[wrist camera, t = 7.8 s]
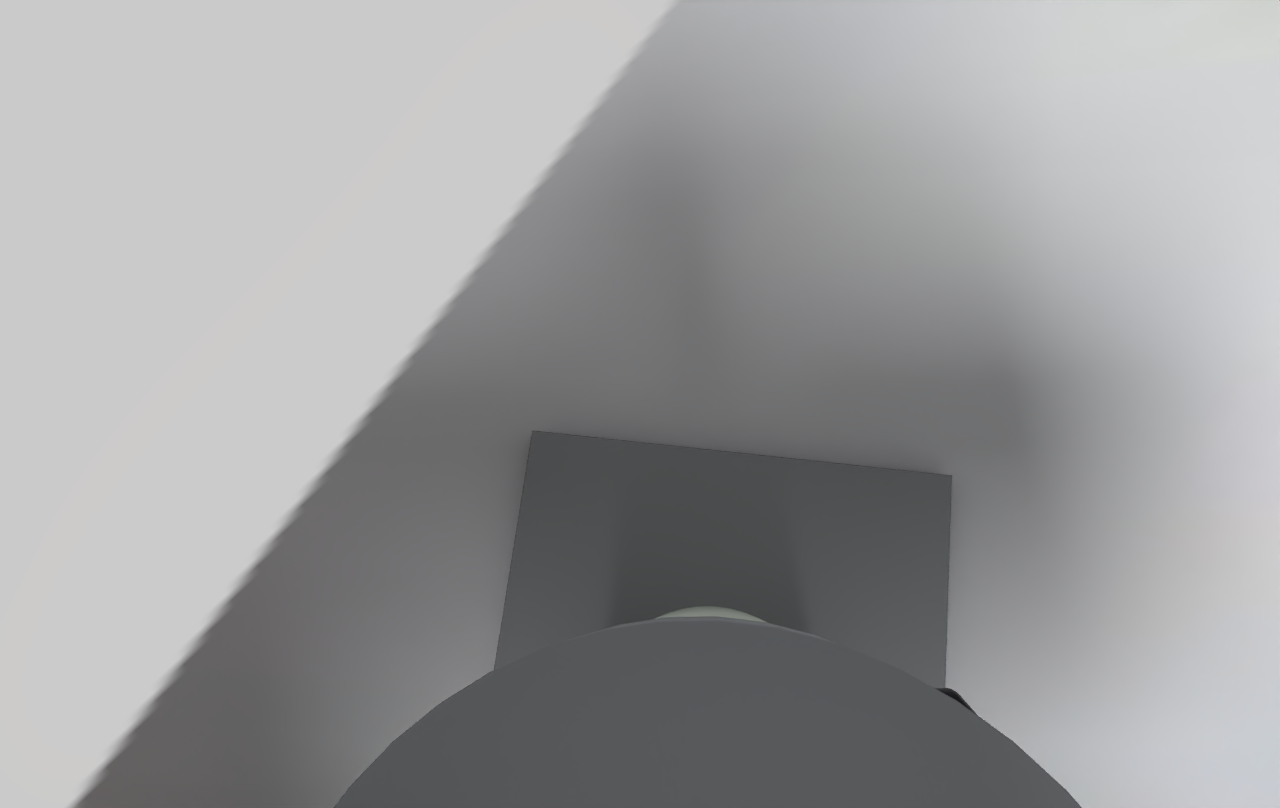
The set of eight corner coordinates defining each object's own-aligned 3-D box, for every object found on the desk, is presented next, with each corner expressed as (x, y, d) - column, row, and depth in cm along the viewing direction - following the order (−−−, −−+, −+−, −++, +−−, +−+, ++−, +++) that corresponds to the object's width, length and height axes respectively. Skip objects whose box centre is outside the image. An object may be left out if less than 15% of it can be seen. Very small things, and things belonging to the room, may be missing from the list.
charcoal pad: (925, 1065, 15) (933, 1081, 15) (451, 972, 16) (443, 984, 16) (945, 478, 18) (951, 475, 17) (537, 434, 19) (532, 430, 19)
